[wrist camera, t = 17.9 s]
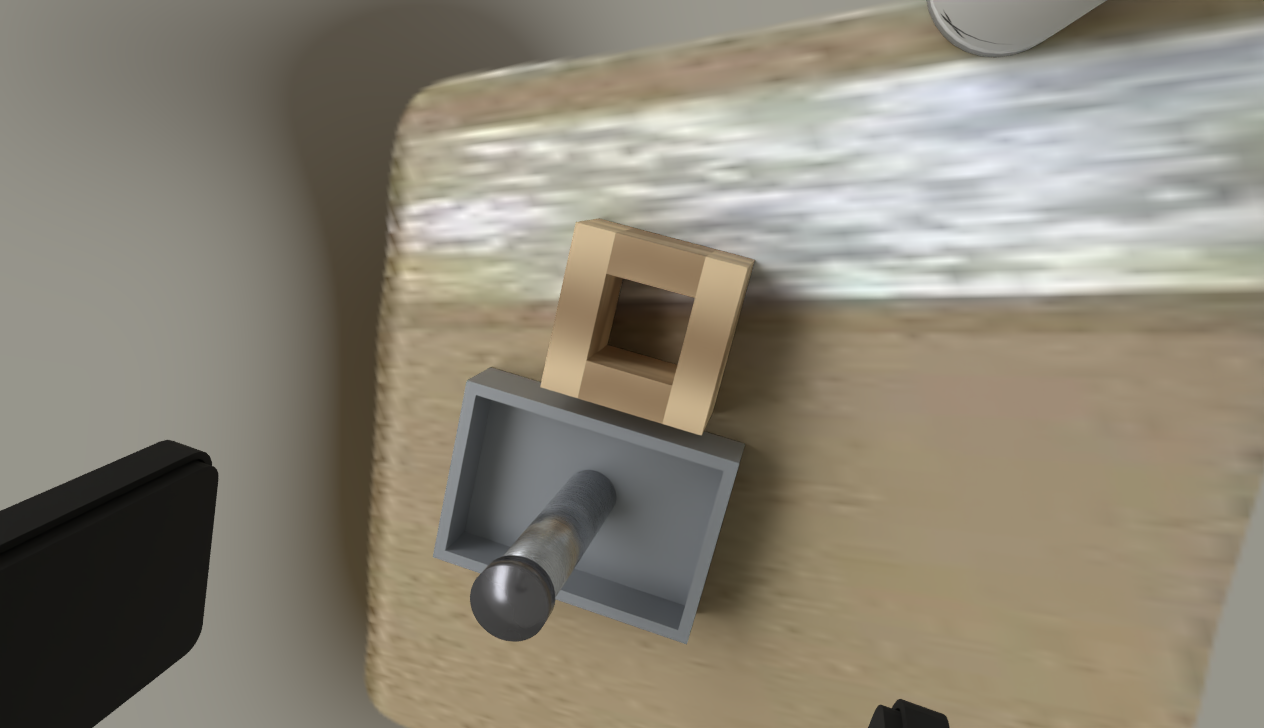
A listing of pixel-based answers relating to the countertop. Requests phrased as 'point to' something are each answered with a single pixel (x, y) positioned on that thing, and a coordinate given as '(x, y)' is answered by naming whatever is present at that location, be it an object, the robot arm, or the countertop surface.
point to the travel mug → (1004, 22)
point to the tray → (636, 466)
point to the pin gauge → (542, 559)
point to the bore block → (629, 377)
